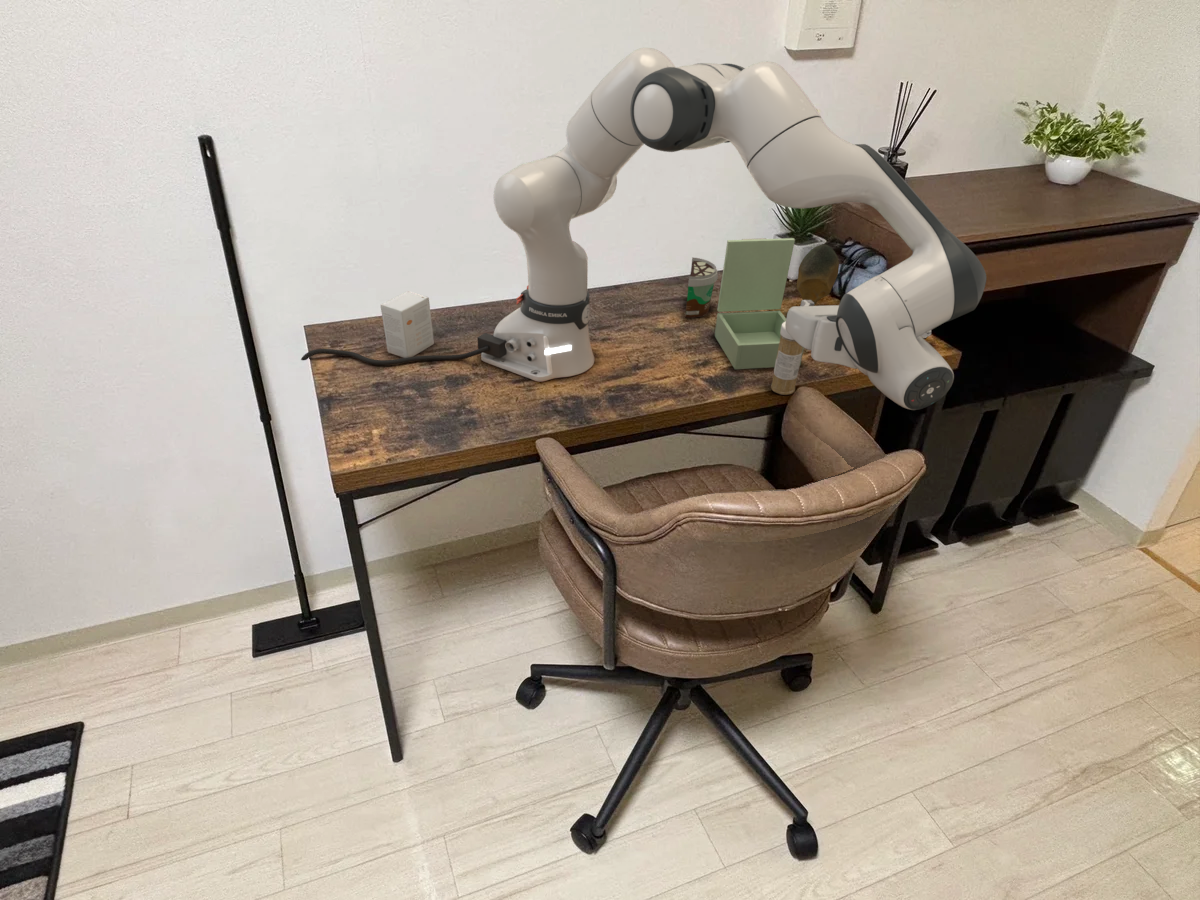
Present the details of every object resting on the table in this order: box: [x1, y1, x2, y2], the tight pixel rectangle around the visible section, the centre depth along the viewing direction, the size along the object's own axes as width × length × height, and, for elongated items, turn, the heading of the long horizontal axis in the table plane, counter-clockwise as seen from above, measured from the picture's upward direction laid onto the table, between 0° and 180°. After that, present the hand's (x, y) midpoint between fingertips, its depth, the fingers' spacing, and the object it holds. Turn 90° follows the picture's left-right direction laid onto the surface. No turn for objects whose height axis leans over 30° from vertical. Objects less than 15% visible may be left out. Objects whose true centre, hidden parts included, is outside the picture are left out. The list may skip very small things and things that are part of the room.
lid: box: [717, 237, 796, 313], centre depth 158 cm, size 15×14×5 cm
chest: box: [714, 309, 805, 370], centre depth 157 cm, size 15×14×5 cm
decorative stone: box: [796, 243, 840, 306], centre depth 172 cm, size 10×6×15 cm, turn 104°
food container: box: [684, 257, 719, 319], centre depth 171 cm, size 12×6×10 cm, turn 171°
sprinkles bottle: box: [770, 321, 803, 396], centre depth 142 cm, size 5×5×13 cm
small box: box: [380, 290, 435, 358], centre depth 152 cm, size 8×6×10 cm
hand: (832, 303), depth 124 cm, fingers open, 8 cm apart
